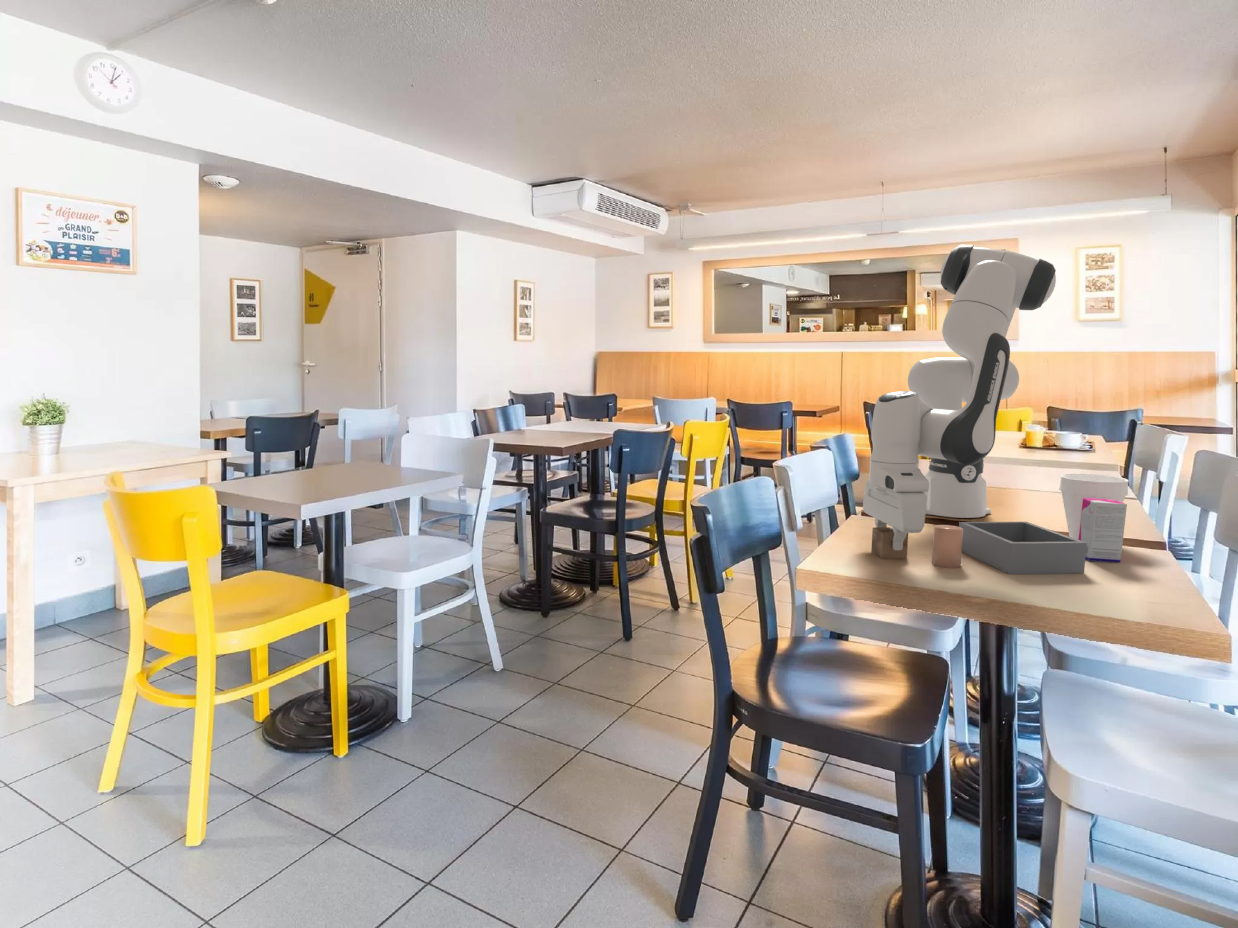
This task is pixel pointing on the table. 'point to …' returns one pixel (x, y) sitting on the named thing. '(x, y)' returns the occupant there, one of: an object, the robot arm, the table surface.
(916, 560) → the table surface
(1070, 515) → the cup
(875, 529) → the block
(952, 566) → the cylinder
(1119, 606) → the table surface
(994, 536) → the tote
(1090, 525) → the supplement box
